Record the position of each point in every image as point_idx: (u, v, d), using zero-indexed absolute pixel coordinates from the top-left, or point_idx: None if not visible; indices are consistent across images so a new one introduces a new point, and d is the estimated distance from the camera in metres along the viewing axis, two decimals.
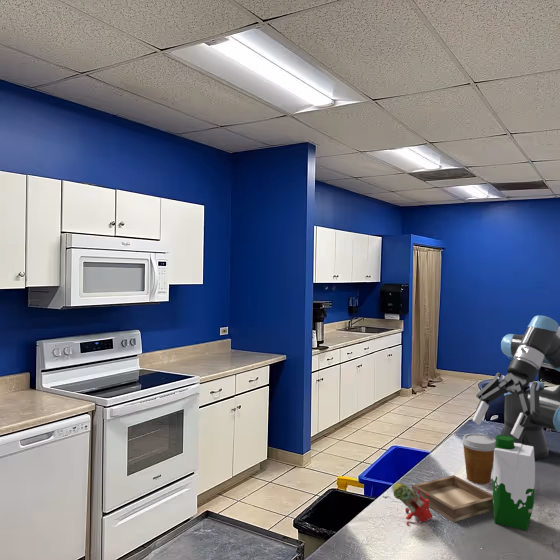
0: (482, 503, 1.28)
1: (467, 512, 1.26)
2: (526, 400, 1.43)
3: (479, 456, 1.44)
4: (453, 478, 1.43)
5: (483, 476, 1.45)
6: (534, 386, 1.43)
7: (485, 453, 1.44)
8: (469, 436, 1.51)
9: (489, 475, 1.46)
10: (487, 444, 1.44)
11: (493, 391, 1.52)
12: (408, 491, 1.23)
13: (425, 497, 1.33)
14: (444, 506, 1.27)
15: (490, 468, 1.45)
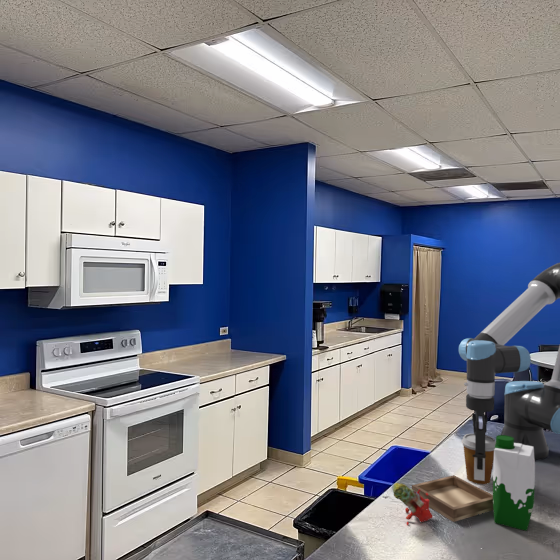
0: (482, 503, 1.28)
1: (467, 512, 1.26)
2: None
3: None
4: (453, 478, 1.43)
5: None
6: (476, 427, 1.42)
7: (485, 453, 1.44)
8: (469, 436, 1.51)
9: (489, 475, 1.46)
10: (487, 444, 1.44)
11: (474, 431, 1.52)
12: (408, 491, 1.23)
13: (425, 497, 1.33)
14: (444, 506, 1.27)
15: (490, 468, 1.45)
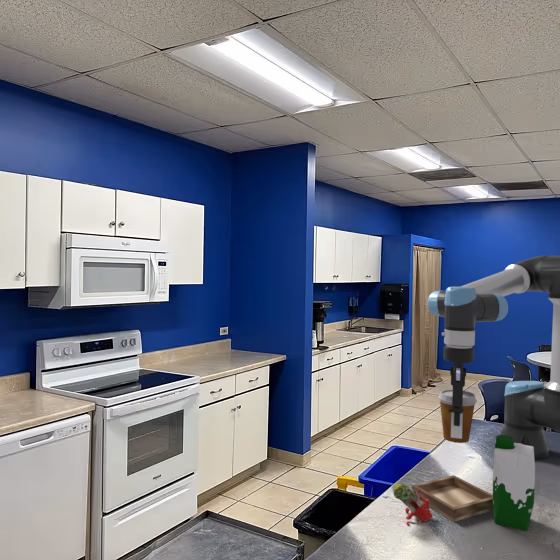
0: (482, 503, 1.28)
1: (467, 512, 1.26)
2: None
3: None
4: (453, 478, 1.43)
5: None
6: (453, 378, 1.29)
7: (463, 408, 1.31)
8: (447, 392, 1.38)
9: (467, 433, 1.32)
10: (465, 398, 1.31)
11: None
12: (408, 491, 1.23)
13: (425, 497, 1.33)
14: (444, 506, 1.27)
15: (468, 425, 1.32)
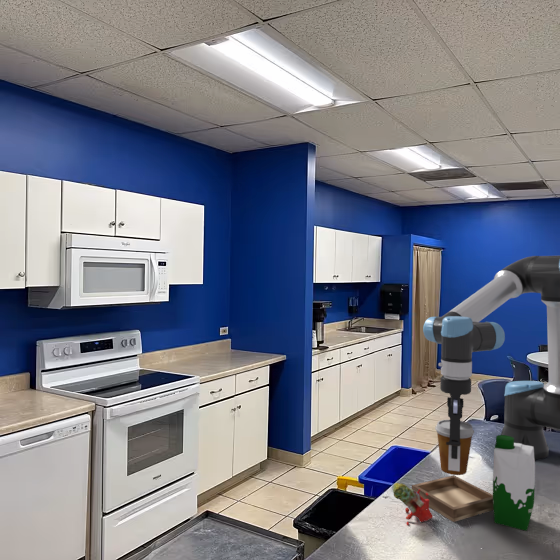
0: (482, 503, 1.28)
1: (467, 512, 1.26)
2: None
3: None
4: (453, 478, 1.43)
5: None
6: (450, 411, 1.28)
7: (461, 440, 1.29)
8: (444, 422, 1.36)
9: (465, 465, 1.31)
10: (462, 430, 1.29)
11: None
12: (408, 491, 1.23)
13: (425, 497, 1.33)
14: (444, 506, 1.27)
15: (466, 457, 1.31)
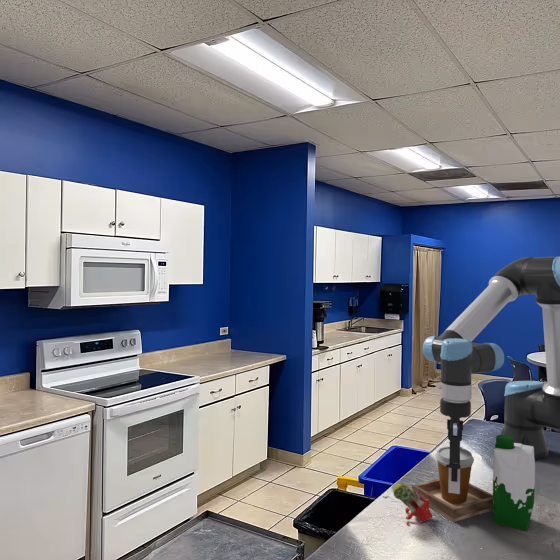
0: (482, 503, 1.28)
1: (467, 512, 1.26)
2: None
3: None
4: None
5: (458, 495, 1.31)
6: (450, 433, 1.28)
7: (461, 469, 1.30)
8: (444, 450, 1.37)
9: (465, 493, 1.32)
10: (462, 460, 1.30)
11: None
12: (408, 491, 1.23)
13: (425, 497, 1.33)
14: (444, 506, 1.27)
15: (466, 486, 1.32)
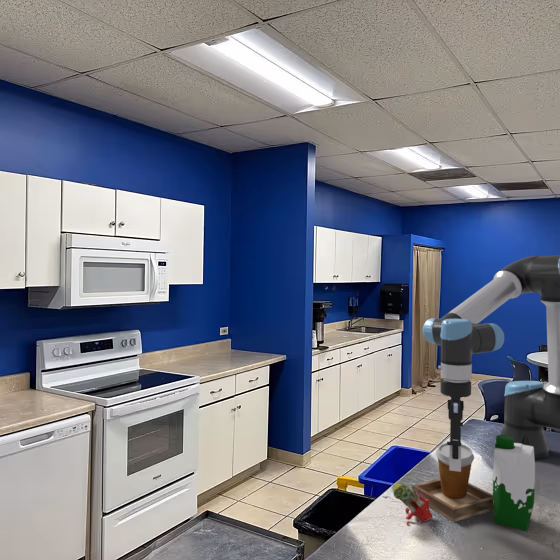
0: (482, 503, 1.28)
1: (467, 512, 1.26)
2: None
3: (454, 471, 1.32)
4: None
5: (458, 491, 1.34)
6: (450, 410, 1.27)
7: (461, 468, 1.32)
8: (444, 446, 1.38)
9: (465, 489, 1.34)
10: (462, 459, 1.31)
11: None
12: (408, 491, 1.23)
13: (425, 497, 1.33)
14: (444, 506, 1.27)
15: (466, 482, 1.34)
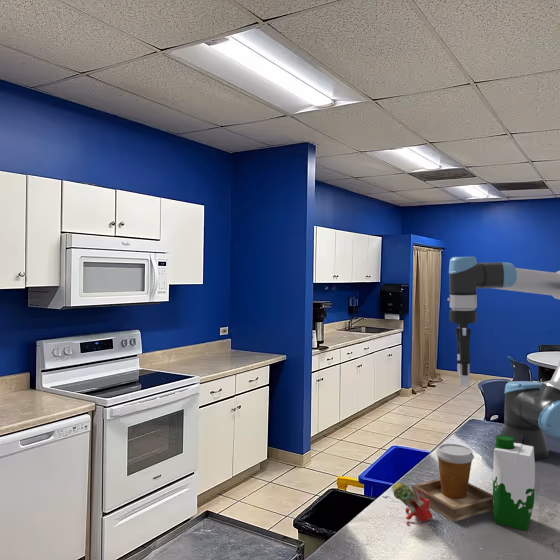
0: (482, 503, 1.28)
1: (467, 512, 1.26)
2: None
3: (454, 469, 1.33)
4: None
5: (458, 490, 1.34)
6: (460, 333, 1.46)
7: (461, 465, 1.33)
8: (444, 446, 1.40)
9: (465, 489, 1.35)
10: (462, 456, 1.33)
11: (458, 343, 1.57)
12: (408, 491, 1.23)
13: (425, 497, 1.33)
14: (444, 506, 1.27)
15: (466, 481, 1.35)
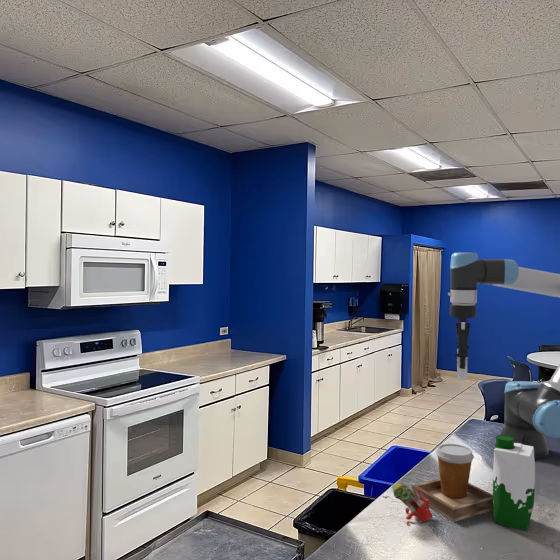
0: (482, 503, 1.28)
1: (467, 512, 1.26)
2: None
3: (454, 469, 1.33)
4: None
5: (458, 490, 1.34)
6: (458, 327, 1.48)
7: (461, 465, 1.33)
8: (444, 446, 1.40)
9: (465, 489, 1.35)
10: (462, 456, 1.33)
11: None
12: (408, 491, 1.23)
13: (425, 497, 1.33)
14: (444, 506, 1.27)
15: (466, 481, 1.35)
